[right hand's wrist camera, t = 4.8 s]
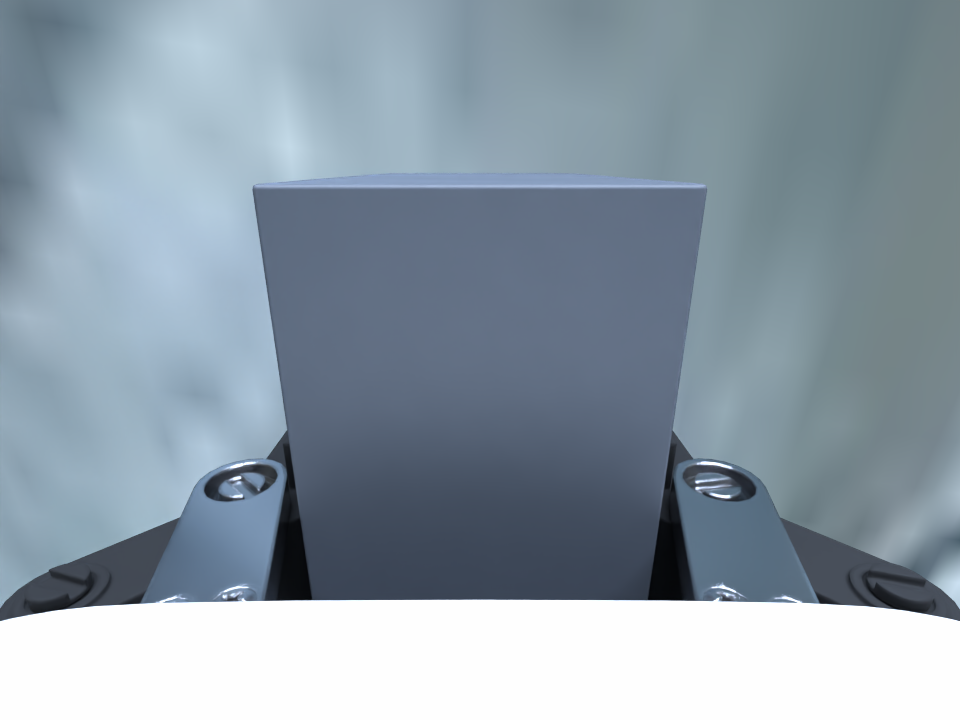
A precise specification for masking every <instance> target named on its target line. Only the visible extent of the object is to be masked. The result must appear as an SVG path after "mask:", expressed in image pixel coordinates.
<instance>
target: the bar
mask: <svg viewBox="0 0 960 720" xmlns="http://www.w3.org/2000/svg"><path fill="white" fill-rule="evenodd" d="M706 193H707V187H706V185H704V184H696V183H684V182H672V181H659V180H647V179H634V178H622V177H610V176H597V175H585V174H375V175H363V176H351V177H338V178H326V179H314V180H302V181H289V182H277V183H265V184H256V185H254V186H253V196H254V203H255V210H256V216H257V223H258V230H259V237H260V244H261V251H262V258H263V265H264V272H265V279H266V285H267V292H268V299H269V306H270V313H271V320H272V327H273V334H274V341H275V348H276V354H277V361H278V368H279V375H280V382H281V389H282V396H283V403H284V410H285V417H286V423H287V430H288V437H289V444H290V451H291V458H292V465H293V472H294V479H295V485H296V492H297V499H298V506H299V513H300V520H301V527H302V534H303V541H304V548H305V554H306V561H307V568H308V575H309V582H310V589H311V596H312V601H346V600H614V601H648V595H649V588H650V582H651V575H652V568H653V561H654V554H655V547H656V540H657V533H658V526H659V519H660V512H661V505H662V498H663V491H664V484H665V478H666V471H667V464H668V457H669V450H670V443H671V436H672V429H673V422H674V415H675V408H676V401H677V394H678V387H679V380H680V374H681V367H682V360H683V353H684V346H685V339H686V332H687V325H688V318H689V311H690V304H691V297H692V290H693V283H694V276H695V270H696V263H697V256H698V249H699V242H700V235H701V228H702V221H703V214H704V207H705V200H706Z"/></svg>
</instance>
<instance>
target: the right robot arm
mask: <svg viewBox="0 0 960 720" xmlns="http://www.w3.org/2000/svg"><path fill="white" fill-rule="evenodd" d="M0 720H960V609H959V608H958V606H957V605H956V603H955V602H954V601H953V600H952V599H951V598H950V597H949V596H948V595H947V594H945V593H944V592H943V591H942V590H941V589H940V588H938V587H937V586H935V585H934V584H932V583H931V582H929V581H928V580H926V579H925V578H923V577H922V576H920V575H919V574H917V573H916V572H914V571H912V570H910V569H908V568H905V567H902V566H900V565H896V564H892V563H889V562H887V561H885V560H882V559H880V558H877V557H875V556H872V555H870V554H867V553H865V552H863V551H860V550H858V549H855V548H853V547H850V546H848V545H846V544H843V543H841V542H838V541H836V540H833V539H831V538H828V537H826V536H824V535H821V534H819V533H816V532H814V531H811V530H809V529H807V528H804V527H802V526H799V525H797V524H794V523H792V522H790V521H787V520H785V519H782V518H780V517H779V515H778V512H777V510H776V508H775V506H774V504H773V502H772V500H771V497H770V495H769V493H768V491H767V489H766V487H765V486H764V484H763V483H762V481H761V480H760V479H759V478H757V477H756V476H755V475H753V474H752V473H751V472H749V471H747V470H745V469H743V468H741V467H739V466H736V465H733V464H730V463H727V462H724V461H718V460H713V459H693V458H692V457H691V455H690V454H689V453H688V451H687V450H686V448H685V447H684V446H683V444H682V443H681V442H680V440H679V439H678V437H677V436H676V435H675V433H674V432H673V431H672V436H671V443H670V450H669V457H668V464H667V471H666V478H665V484H664V491H663V498H662V505H661V512H660V519H659V526H658V533H657V540H656V547H655V554H654V561H653V568H652V575H651V582H650V588H649V595H648V601H614V600H346V601H312V596H311V589H310V582H309V575H308V568H307V561H306V554H305V548H304V541H303V534H302V527H301V520H300V513H299V506H298V499H297V492H296V485H295V479H294V472H293V465H292V458H291V451H290V444H289V437H288V430H287V431H286V433H285V434H284V435H283V437H282V438H281V440H280V441H279V442H278V444H277V445H276V446H275V448H274V449H273V451H272V452H271V453H270V455H269V456H268V457H267V459H247V460H242V461H236V462H233V463H230V464H227V465H224V466H221V467H219V468H217V469H215V470H213V471H211V472H209V473H208V474H207V475H205V476H204V477H203V478H201V479H200V480H199V481H198V483H197V484H196V486H195V487H194V489H193V491H192V493H191V495H190V497H189V500H188V502H187V504H186V506H185V508H184V510H183V512H182V515H181V517H180V518H177V519H175V520H173V521H170V522H168V523H165V524H163V525H160V526H158V527H155V528H153V529H151V530H148V531H146V532H143V533H141V534H138V535H136V536H134V537H131V538H129V539H126V540H124V541H121V542H119V543H117V544H114V545H112V546H109V547H107V548H104V549H102V550H100V551H97V552H95V553H92V554H90V555H87V556H85V557H82V558H80V559H78V560H75V561H73V562H70V563H68V564H64V565H60V566H57V567H55V568H52V569H50V570H49V572H47V573H45V574H43V575H41V576H39V577H37V578H35V579H34V580H32V581H31V582H29V583H28V584H26V585H25V586H23V587H21V588H20V589H18V590H17V591H16V592H15V593H14V594H13V595H12V596H11V597H10V598H9V599H8V600H6V601H5V603H4V604H3V606H2V607H1V608H0Z"/></svg>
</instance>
